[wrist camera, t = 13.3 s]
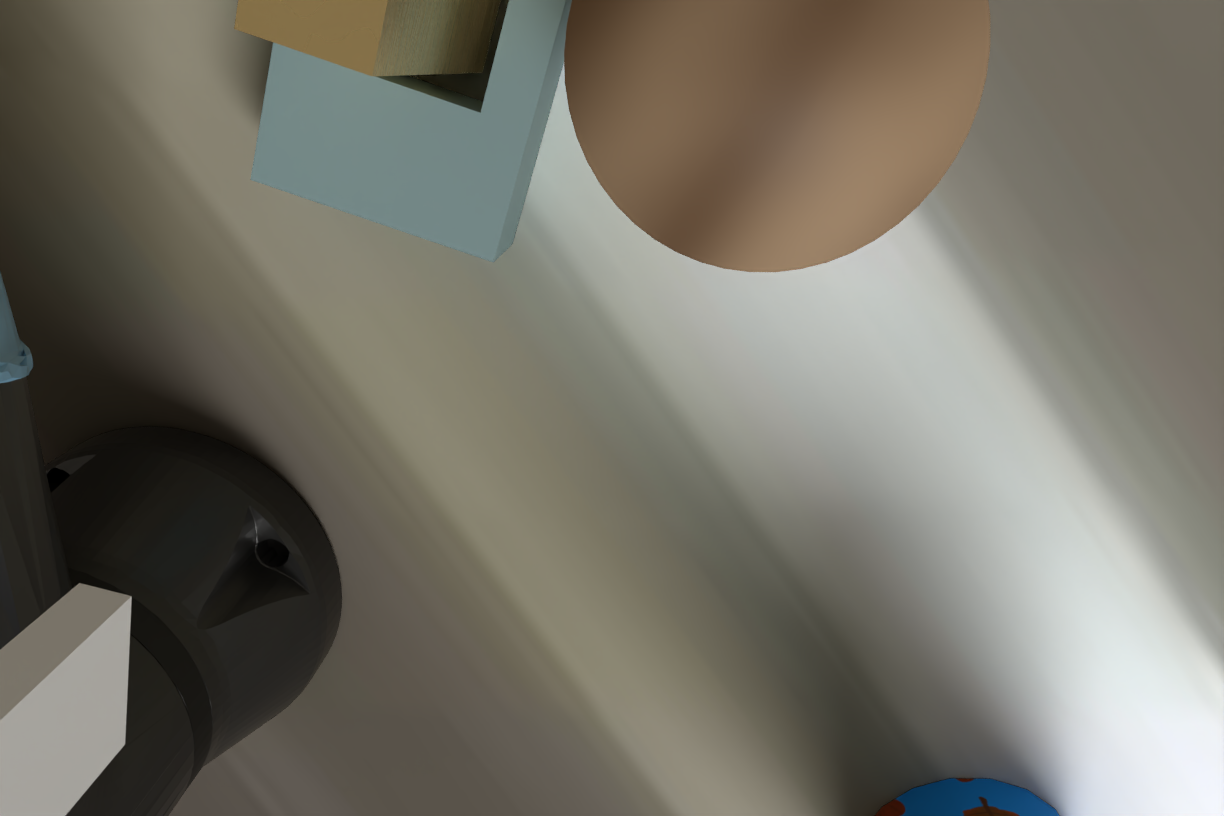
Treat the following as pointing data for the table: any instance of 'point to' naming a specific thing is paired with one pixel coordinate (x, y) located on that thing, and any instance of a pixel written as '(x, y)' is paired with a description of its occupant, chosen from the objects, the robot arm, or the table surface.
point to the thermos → (967, 800)
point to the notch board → (417, 137)
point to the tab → (379, 32)
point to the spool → (772, 117)
